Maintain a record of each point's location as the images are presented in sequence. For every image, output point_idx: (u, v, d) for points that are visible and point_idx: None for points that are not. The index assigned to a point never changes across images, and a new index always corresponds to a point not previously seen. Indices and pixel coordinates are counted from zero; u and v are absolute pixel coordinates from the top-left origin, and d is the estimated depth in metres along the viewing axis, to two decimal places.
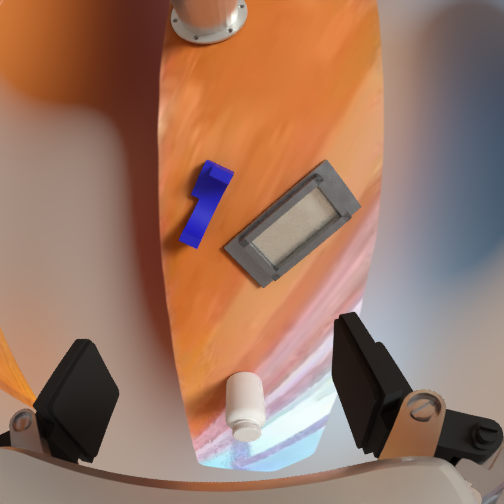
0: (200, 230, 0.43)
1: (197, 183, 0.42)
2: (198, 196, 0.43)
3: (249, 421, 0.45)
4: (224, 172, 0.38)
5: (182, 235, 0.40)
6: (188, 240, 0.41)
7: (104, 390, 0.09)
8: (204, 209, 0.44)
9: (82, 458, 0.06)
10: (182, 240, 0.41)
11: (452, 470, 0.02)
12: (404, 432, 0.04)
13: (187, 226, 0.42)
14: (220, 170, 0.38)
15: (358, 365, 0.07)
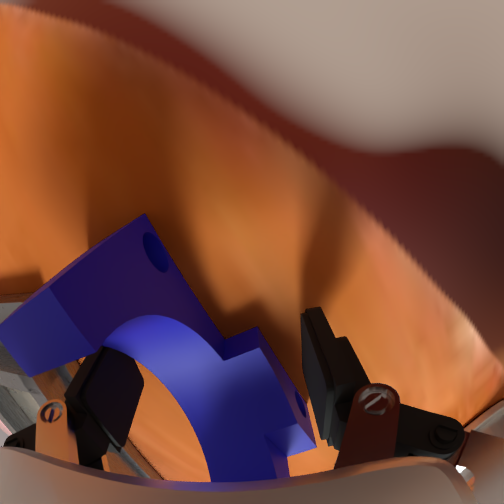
0: None
1: (278, 393, 0.10)
2: (233, 363, 0.10)
3: None
4: None
5: (71, 332, 0.04)
6: (35, 335, 0.04)
7: (131, 379, 0.10)
8: (174, 355, 0.10)
9: (110, 449, 0.07)
10: (45, 308, 0.04)
11: (452, 470, 0.02)
12: (352, 423, 0.05)
13: (129, 320, 0.06)
14: None
15: (316, 357, 0.07)
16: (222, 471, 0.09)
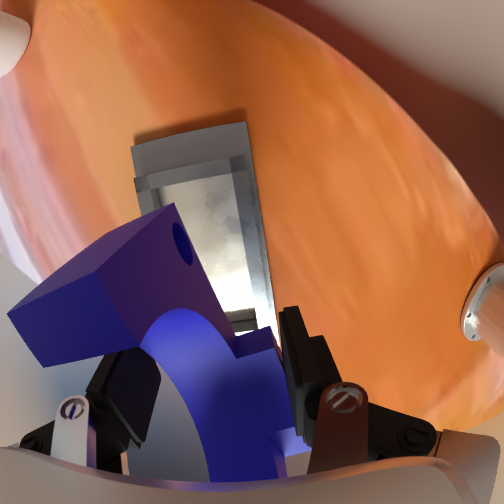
0: None
1: (285, 393, 0.10)
2: (245, 361, 0.10)
3: None
4: None
5: (112, 323, 0.04)
6: (63, 323, 0.04)
7: (150, 374, 0.10)
8: (187, 349, 0.10)
9: (129, 445, 0.07)
10: (83, 295, 0.04)
11: (452, 470, 0.02)
12: (317, 420, 0.05)
13: None
14: None
15: (288, 354, 0.08)
16: (222, 469, 0.09)
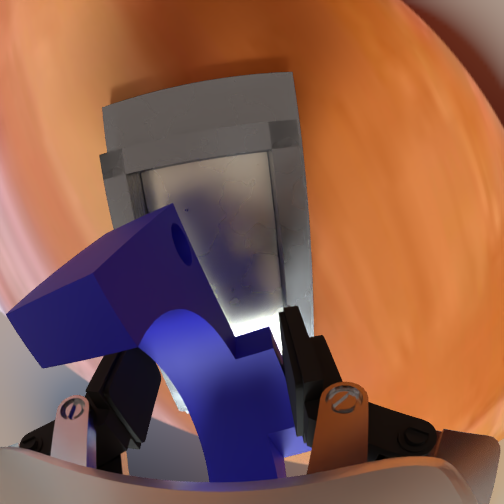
0: None
1: (285, 394, 0.10)
2: (245, 362, 0.10)
3: None
4: None
5: (111, 324, 0.04)
6: (62, 324, 0.04)
7: (150, 374, 0.10)
8: (186, 350, 0.10)
9: (129, 445, 0.07)
10: (82, 296, 0.04)
11: (452, 470, 0.02)
12: (317, 420, 0.05)
13: None
14: None
15: (288, 354, 0.08)
16: (221, 469, 0.09)
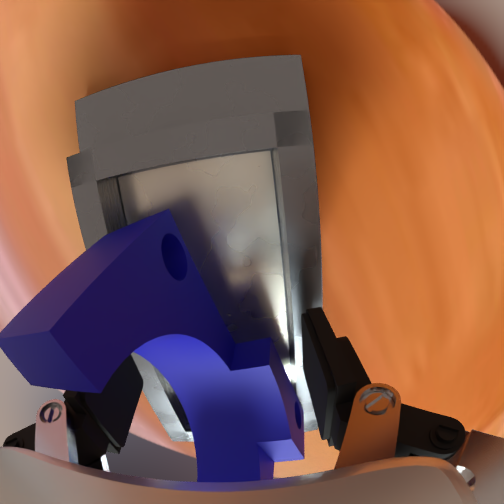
0: None
1: (278, 408, 0.10)
2: (240, 374, 0.10)
3: None
4: None
5: (75, 372, 0.04)
6: (37, 360, 0.04)
7: (130, 379, 0.10)
8: (181, 358, 0.10)
9: (109, 449, 0.07)
10: (46, 346, 0.04)
11: (452, 470, 0.02)
12: (353, 423, 0.05)
13: None
14: None
15: (316, 357, 0.07)
16: (210, 468, 0.10)
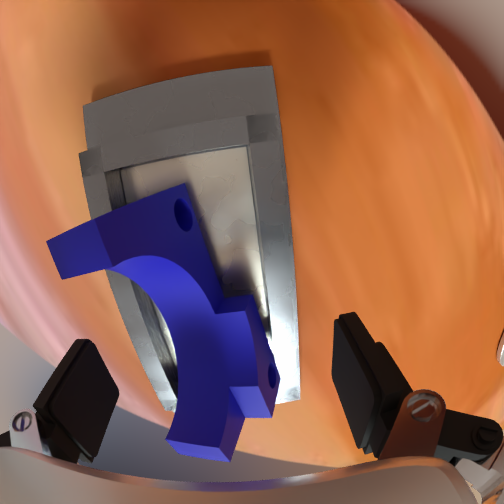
0: (114, 267, 0.10)
1: (250, 354, 0.13)
2: (222, 318, 0.13)
3: None
4: (196, 455, 0.11)
5: (101, 250, 0.07)
6: (76, 248, 0.08)
7: (104, 390, 0.09)
8: (178, 298, 0.13)
9: (82, 458, 0.06)
10: (88, 232, 0.07)
11: (452, 470, 0.02)
12: (404, 432, 0.04)
13: (145, 256, 0.09)
14: (207, 457, 0.11)
15: (358, 365, 0.07)
16: (186, 408, 0.12)
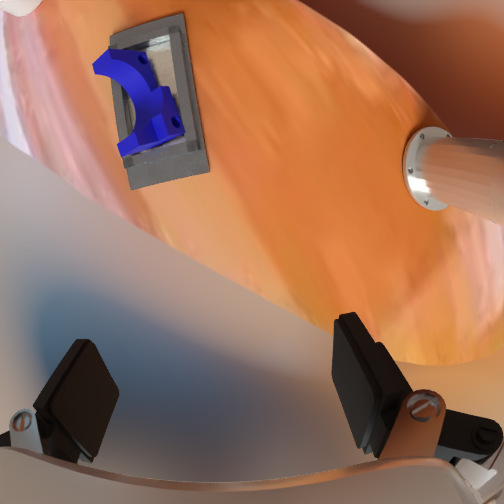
0: (114, 74, 0.24)
1: (161, 103, 0.25)
2: (153, 92, 0.26)
3: None
4: (127, 150, 0.25)
5: (108, 56, 0.20)
6: (102, 60, 0.21)
7: (104, 390, 0.09)
8: (138, 89, 0.26)
9: (82, 458, 0.06)
10: (106, 53, 0.20)
11: (452, 470, 0.02)
12: (404, 432, 0.04)
13: (123, 63, 0.22)
14: (131, 148, 0.24)
15: (358, 365, 0.07)
16: None
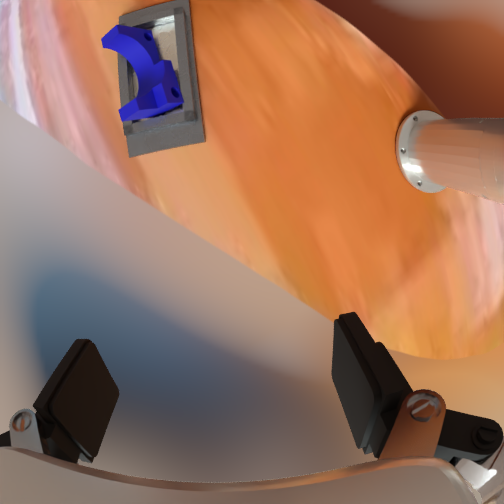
0: (121, 49, 0.24)
1: (162, 74, 0.26)
2: (156, 66, 0.26)
3: None
4: (128, 115, 0.25)
5: (116, 31, 0.21)
6: (110, 34, 0.21)
7: (104, 390, 0.09)
8: (142, 63, 0.26)
9: (82, 458, 0.06)
10: (114, 28, 0.21)
11: (452, 470, 0.02)
12: (404, 432, 0.04)
13: (129, 38, 0.23)
14: (131, 112, 0.25)
15: (358, 365, 0.07)
16: None
